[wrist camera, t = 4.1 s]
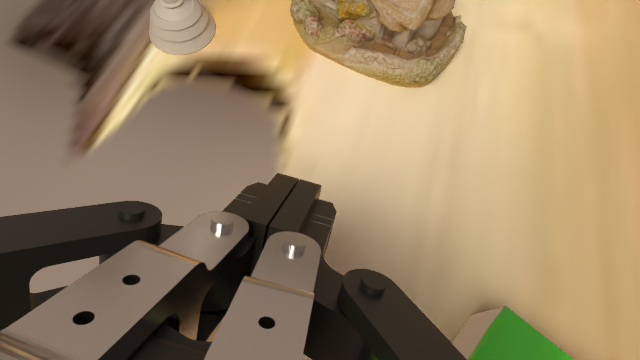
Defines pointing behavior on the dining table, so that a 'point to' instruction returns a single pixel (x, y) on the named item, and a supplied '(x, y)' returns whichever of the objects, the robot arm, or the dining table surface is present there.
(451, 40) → the ceramic model
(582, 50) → the dining table surface
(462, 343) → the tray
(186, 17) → the chalice
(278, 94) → the dining table surface
